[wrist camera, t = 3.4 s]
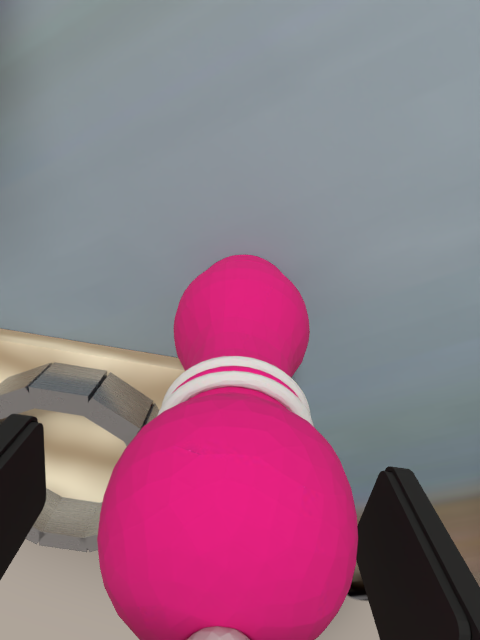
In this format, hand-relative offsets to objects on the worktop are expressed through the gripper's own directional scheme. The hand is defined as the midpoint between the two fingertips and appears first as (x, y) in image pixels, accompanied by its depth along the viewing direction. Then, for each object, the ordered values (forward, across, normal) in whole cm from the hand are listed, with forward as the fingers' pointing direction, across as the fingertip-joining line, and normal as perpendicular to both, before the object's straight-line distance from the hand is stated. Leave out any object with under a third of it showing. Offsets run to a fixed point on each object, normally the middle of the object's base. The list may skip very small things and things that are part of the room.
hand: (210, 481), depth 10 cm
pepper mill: (+15, -1, 0) cm, 15 cm away
